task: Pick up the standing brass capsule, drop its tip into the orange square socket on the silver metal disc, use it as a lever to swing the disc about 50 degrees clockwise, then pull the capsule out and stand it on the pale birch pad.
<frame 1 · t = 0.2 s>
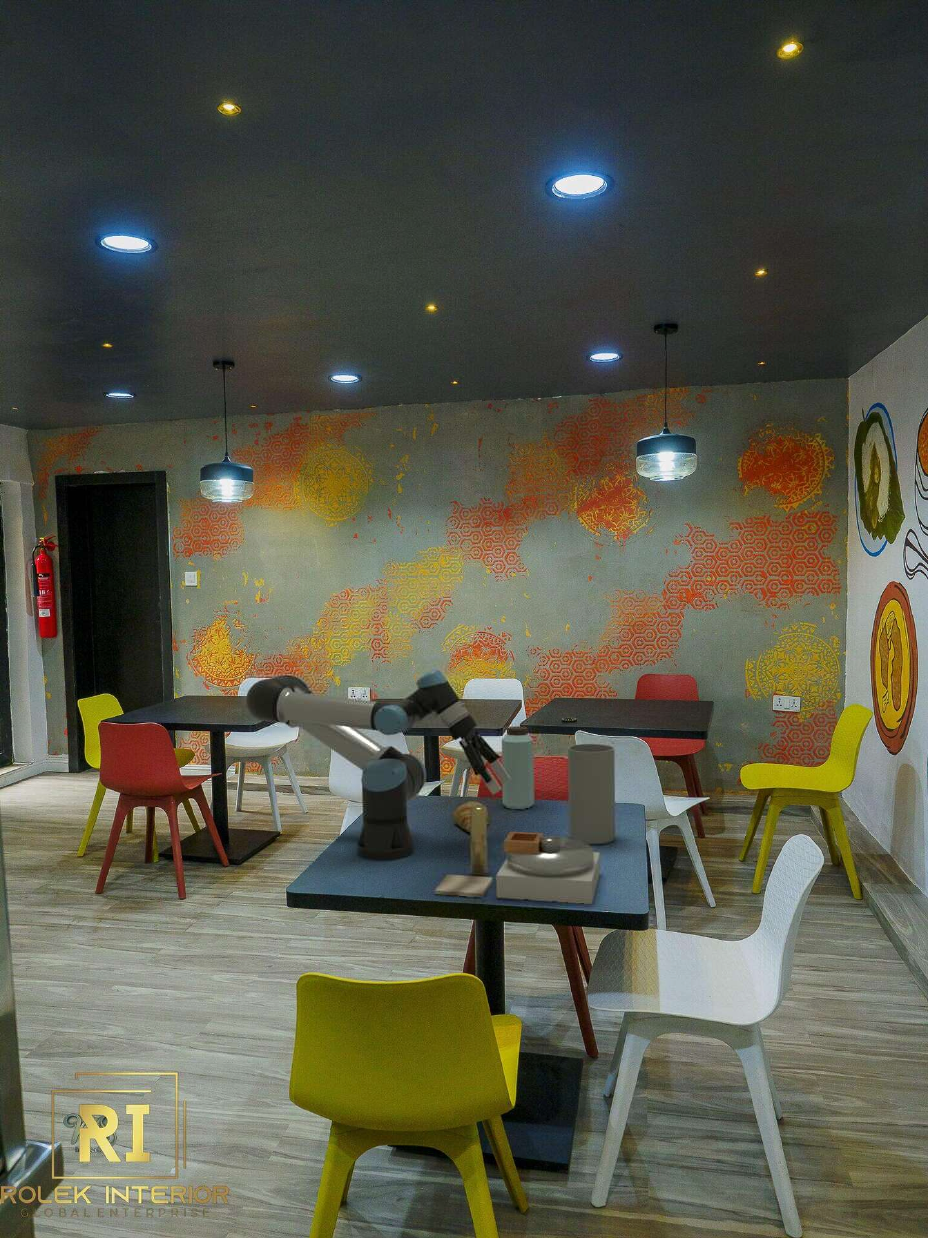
hand: (502, 787, 230), 15 cm above the table, tool tilted 35°, fingers open, 13 cm apart
croissant: (471, 826, 250), on the table
brass capsule: (479, 873, 206), on the table
birch pad: (464, 888, 196), on the table
cylinder vase: (592, 839, 234), on the table
beige square block: (550, 885, 197), on the table
silver metal disc: (549, 850, 197), point 8 cm above the table, hinge at 0.0°
water bottle: (518, 807, 270), on the table
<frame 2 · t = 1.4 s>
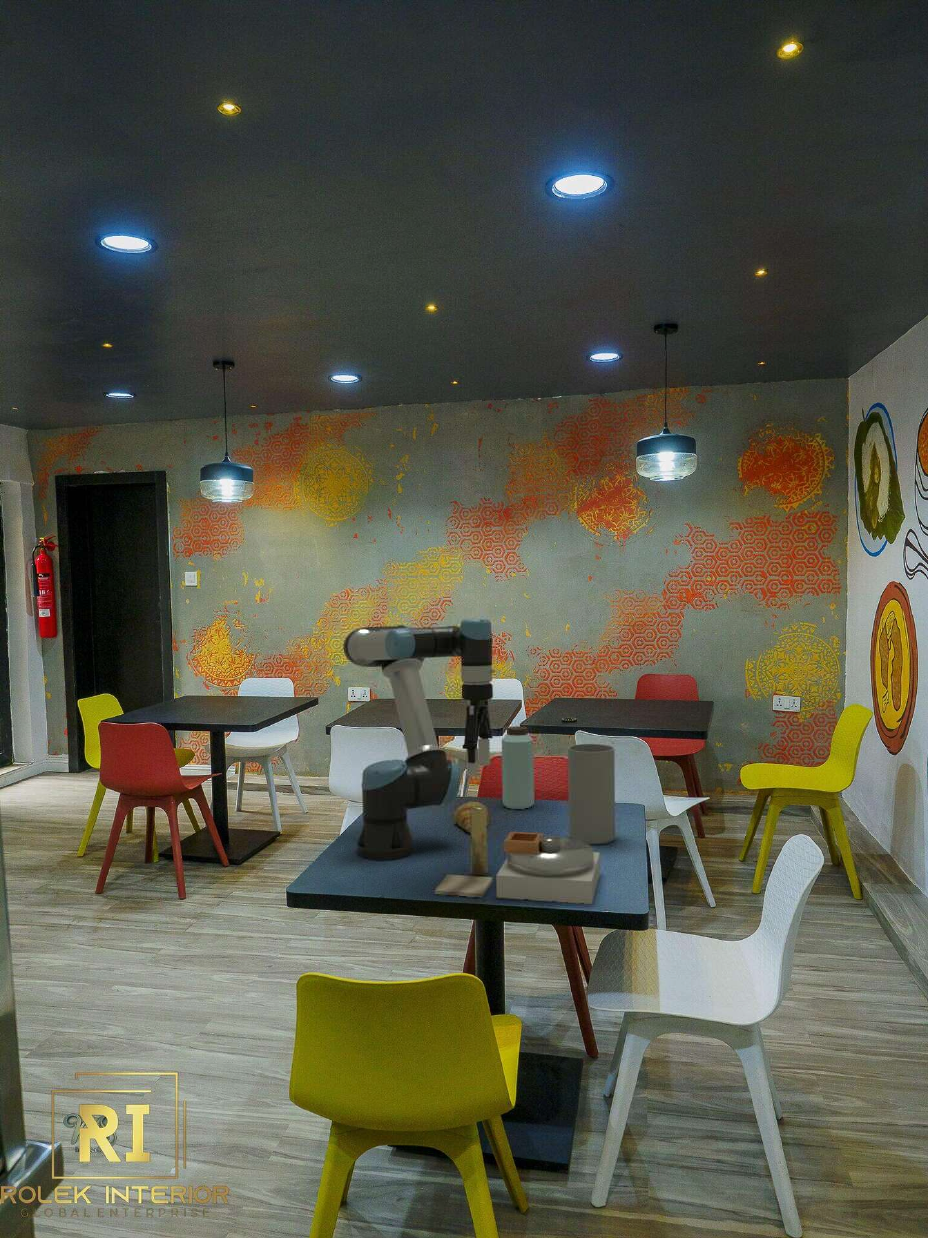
hand: (478, 770, 206), 25 cm above the table, tool pointing down, fingers open, 13 cm apart
nothing on the table moved.
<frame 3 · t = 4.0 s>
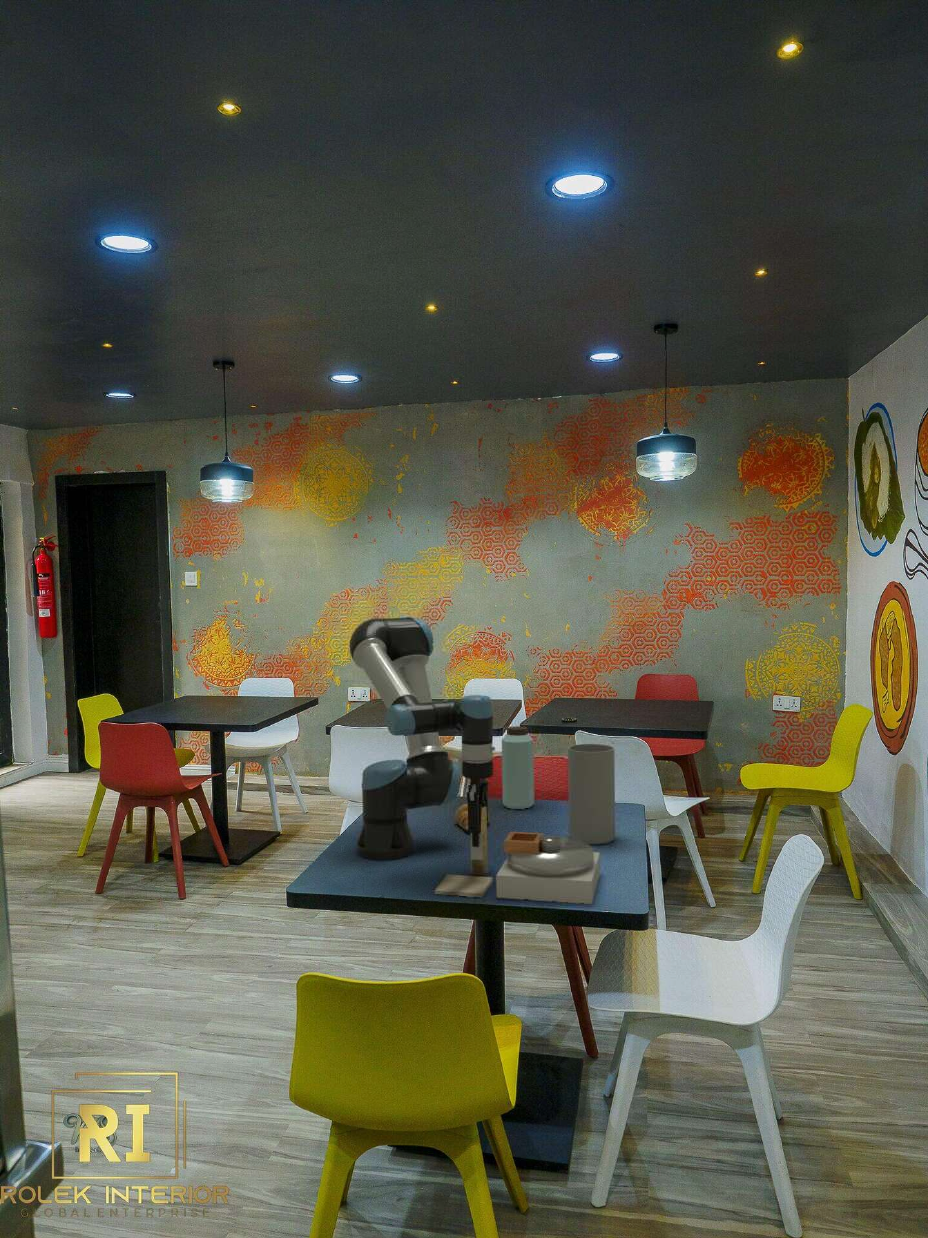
hand: (478, 856, 206), 4 cm above the table, tool pointing down, fingers closed on brass capsule, 4 cm apart
brass capsule: (479, 873, 206), on the table, touching gripper
everything else where it was.
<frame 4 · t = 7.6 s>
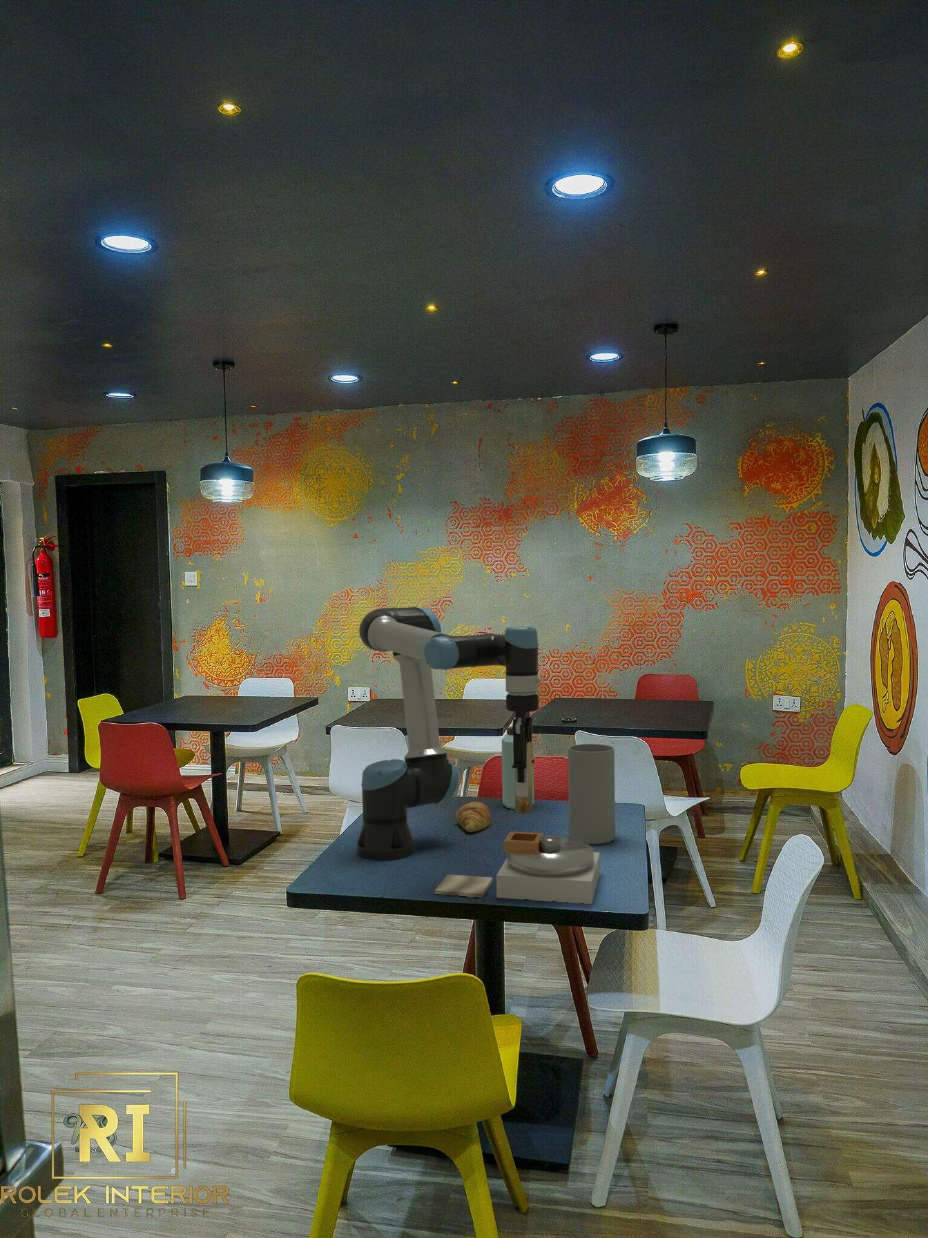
hand: (523, 793, 198), 21 cm above the table, tool pointing down, fingers closed on brass capsule, 4 cm apart
brass capsule: (523, 811, 198), point 17 cm above the table, touching gripper
everything else where it was.
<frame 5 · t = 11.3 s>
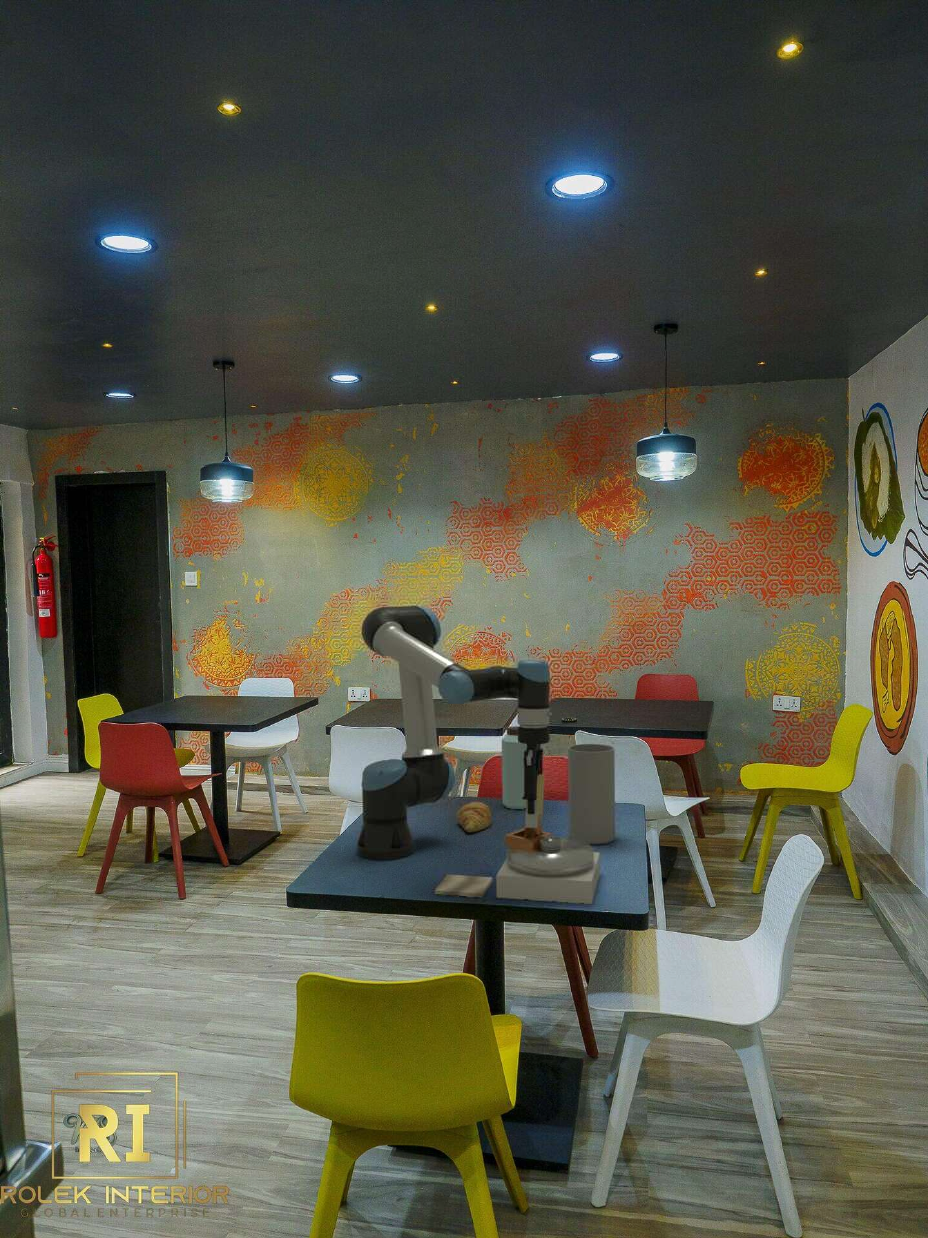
hand: (533, 824, 201), 13 cm above the table, tool pointing down, fingers closed on brass capsule, 5 cm apart
brass capsule: (532, 843, 201), point 9 cm above the table, tilted 7°, touching silver metal disc, gripper
silver metal disc: (549, 850, 197), point 8 cm above the table, hinge at 25.6°, touching brass capsule
everything else where it was.
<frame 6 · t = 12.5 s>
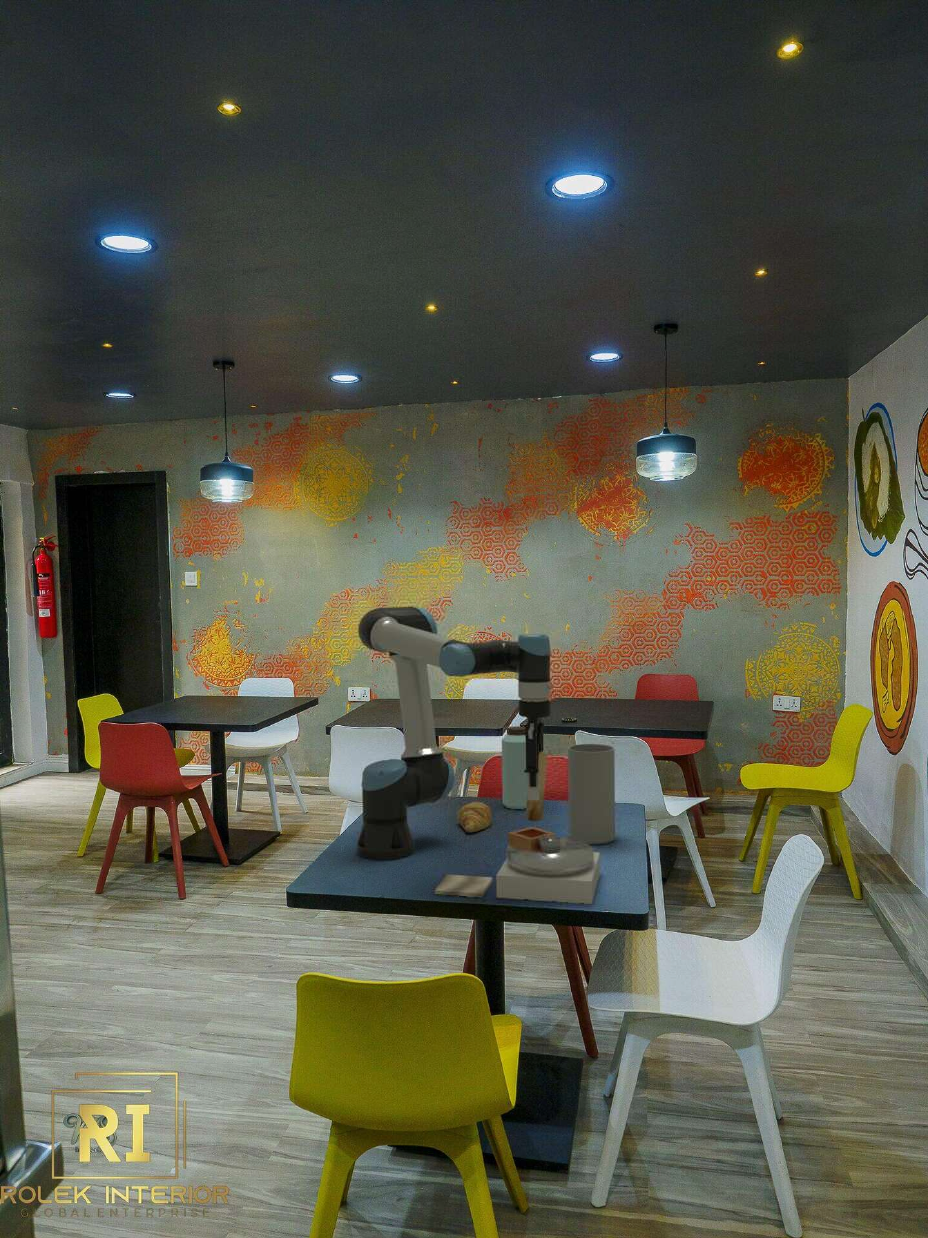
hand: (535, 797, 202), 19 cm above the table, tool pointing down, fingers closed on brass capsule, 4 cm apart
brass capsule: (533, 818, 203), point 14 cm above the table, tilted 5°, touching gripper
silver metal disc: (549, 850, 197), point 8 cm above the table, hinge at 37.2°
when the fingers open (6 cm above the table, at t = 17.8 s): brass capsule stays where it is, resting on birch pad.
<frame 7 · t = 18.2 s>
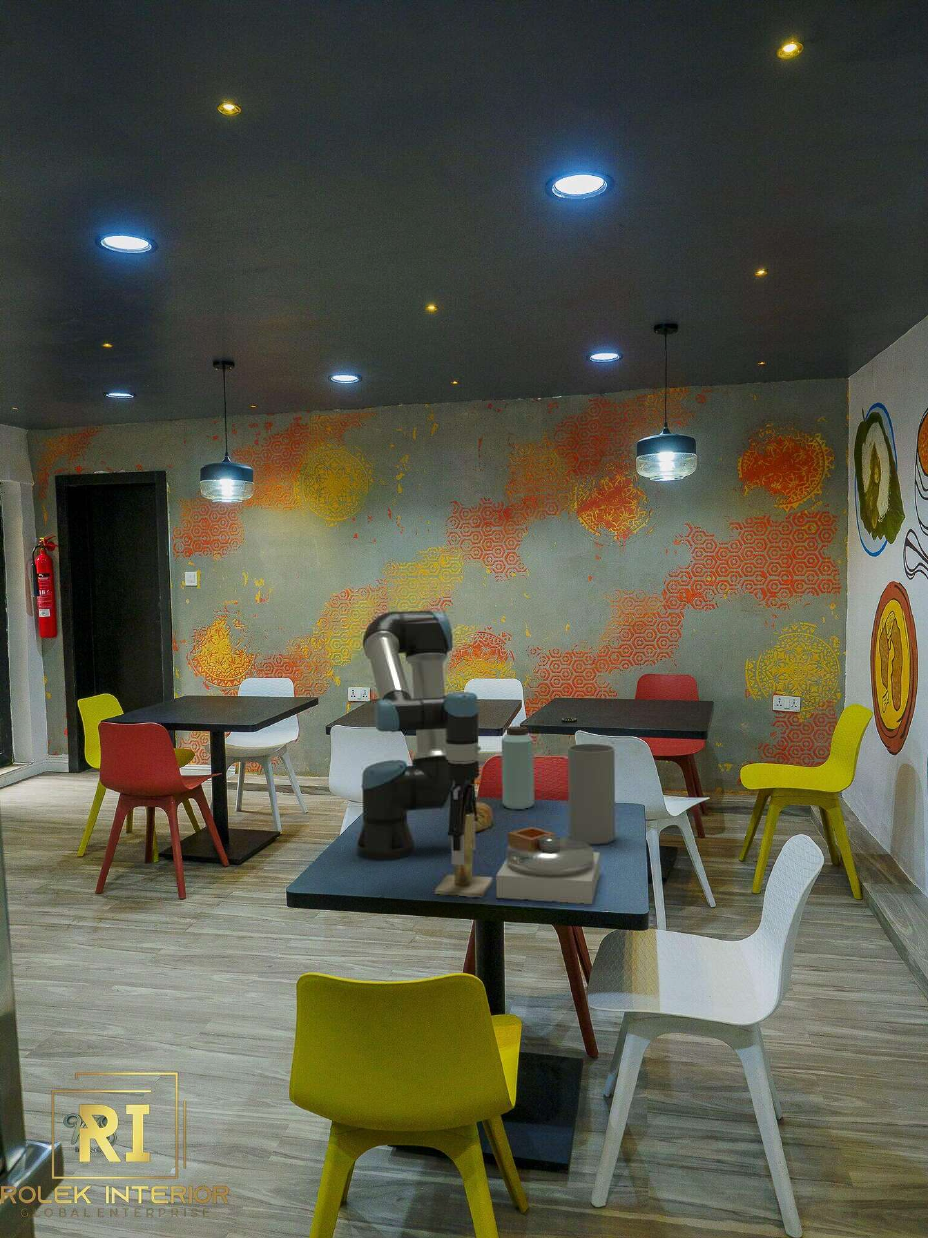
hand: (463, 856, 196), 7 cm above the table, tool pointing down, fingers open, 10 cm apart
brass capsule: (462, 883, 196), point 1 cm above the table, touching birch pad
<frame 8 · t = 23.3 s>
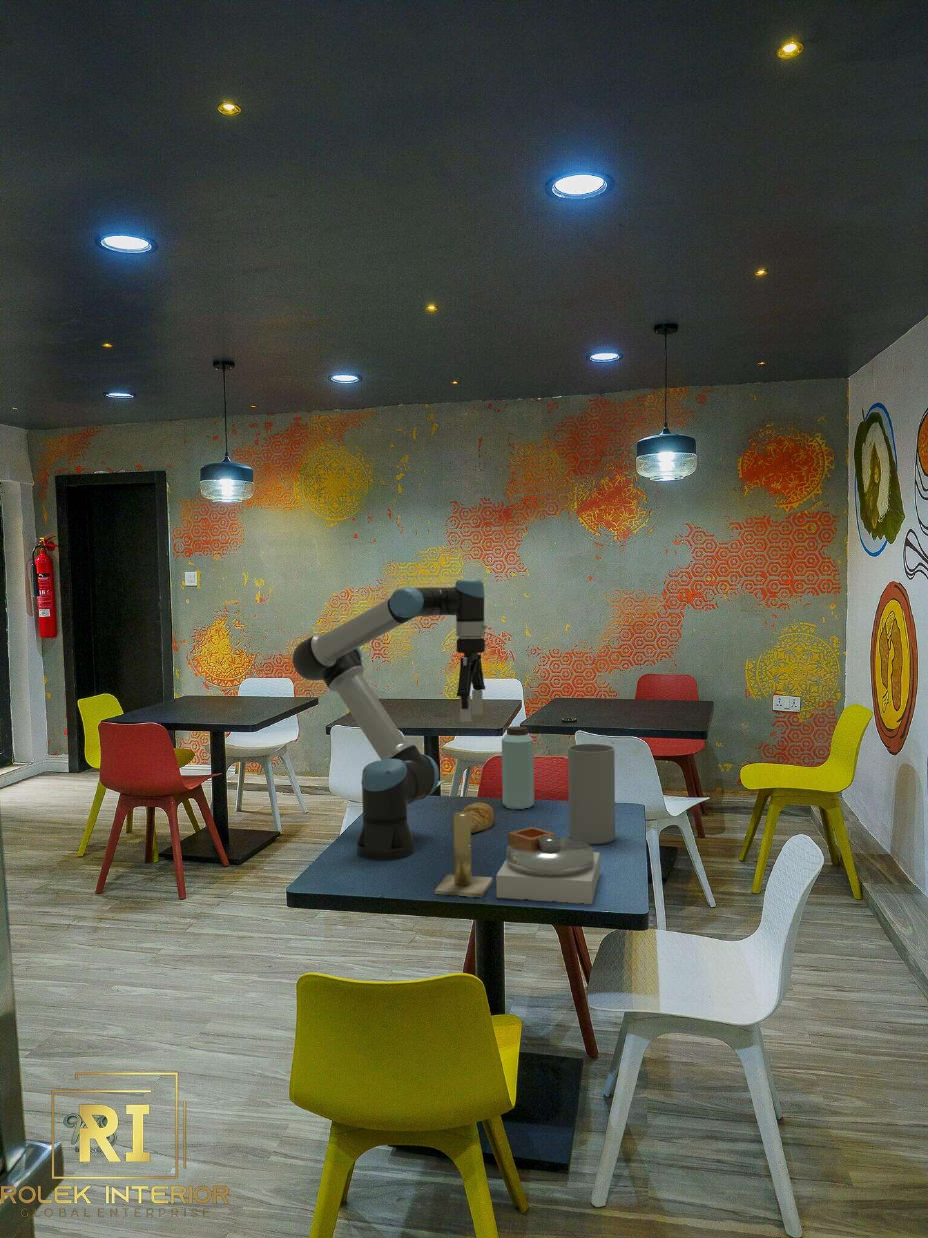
hand: (471, 717, 226), 35 cm above the table, tool pointing down, fingers open, 13 cm apart
at the end: silver metal disc at +37° (first picture: +0°); brass capsule inside the target area (0.3 cm from its centre), point 1.1 cm above the table; brass capsule tilted 2° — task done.
